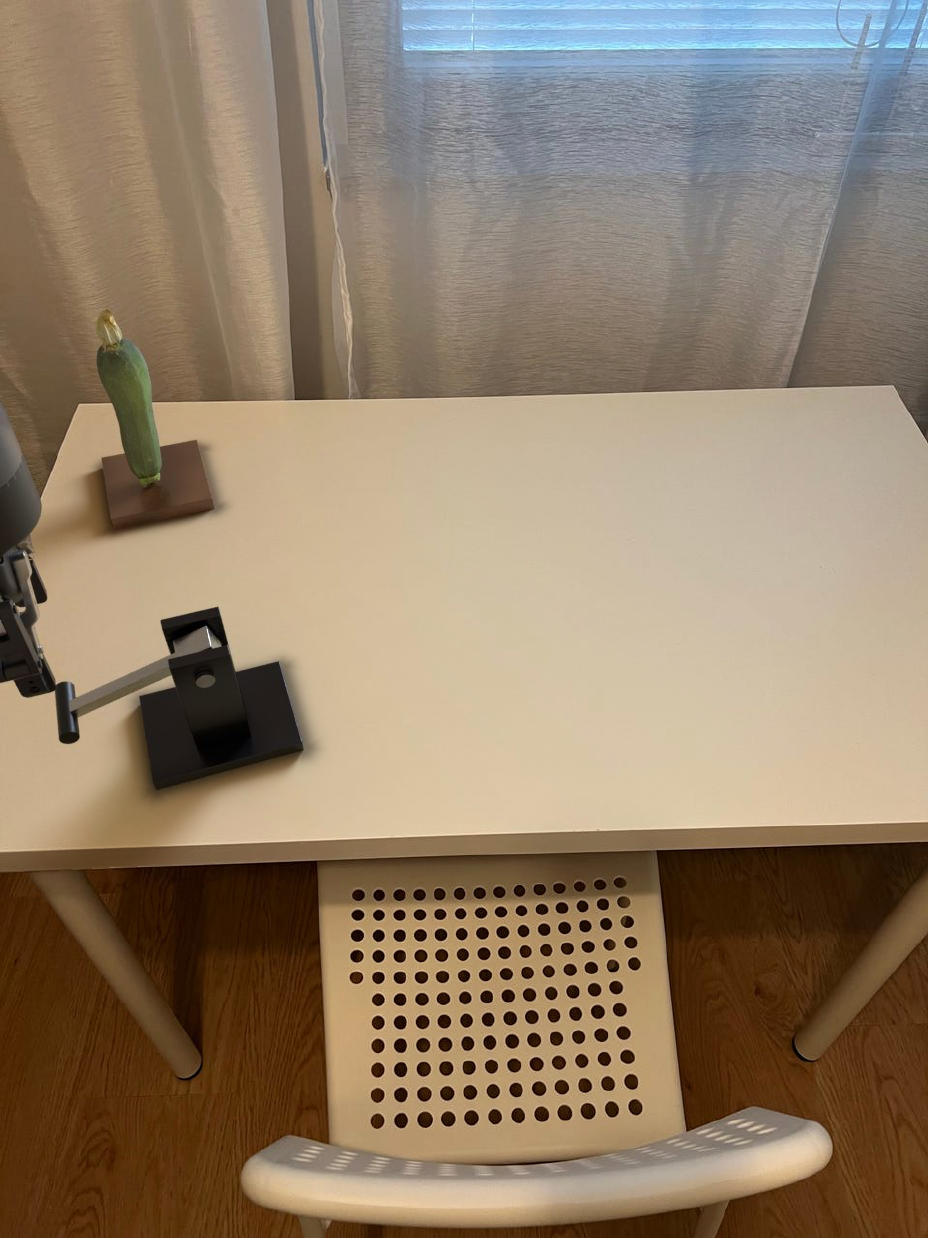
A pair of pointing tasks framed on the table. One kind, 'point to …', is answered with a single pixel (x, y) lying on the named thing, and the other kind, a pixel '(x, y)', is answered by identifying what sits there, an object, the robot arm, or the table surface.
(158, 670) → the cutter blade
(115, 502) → the board
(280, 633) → the table surface
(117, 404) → the vegetable
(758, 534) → the table surface
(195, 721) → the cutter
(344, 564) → the table surface
